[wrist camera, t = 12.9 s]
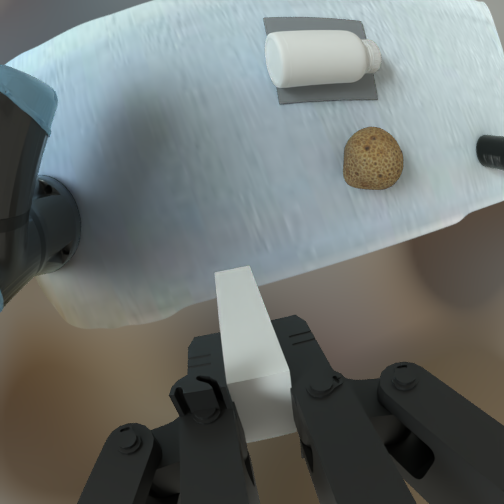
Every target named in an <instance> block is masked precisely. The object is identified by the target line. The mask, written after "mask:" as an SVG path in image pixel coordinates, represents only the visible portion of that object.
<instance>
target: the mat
mask: <svg viewBox="0 0 504 504" xmlns="http://www.w3.org/2000/svg"><path fill="white" fill-rule="evenodd" d="M263 20H264V25H265V30H266V35H268V34H270V33H273V32H281V31H300V30H344V31H349V32H352V33H354V34H356V35H357V36H358V37H359V38H360V39H366V38H365V34H364V30H363V26H362V22H361V21H356V20H346V19H334V18H315V17H271V18H263ZM277 93H278V99H279V104H286V103H298V102H311V101H330V100H378V98H377V92H376V86H375V80H374V75H373V73H365V74H364V75H363V77H362V78H361V79H360V80H358V81H356V82H352V83H334V84H319V85H308V86H297V87H288V88H278V87H277Z"/></svg>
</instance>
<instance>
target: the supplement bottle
mask: <svg viewBox="0 0 504 504" xmlns="http://www.w3.org/2000/svg"><path fill="white" fill-rule="evenodd" d="M476 152H477V157H478V160H479V162H480V163H481V164H482V165H483V166H485V167H490V168H495V169H500V170H504V137H503V136H492V135H482V136H481V137H480V138H479V139H478V142H477V146H476Z"/></svg>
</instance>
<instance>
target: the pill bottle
mask: <svg viewBox="0 0 504 504" xmlns="http://www.w3.org/2000/svg"><path fill="white" fill-rule="evenodd" d="M265 59H266V65H267V69H268V72H269V75H270V78H271V80H272V82H273V84H274V85H275V86H276V87H278V88H288V87H297V86H308V85H319V84H334V83H352V82H356V81H358V80H360V79H361V78H362V77H363V75H364V74H365V73H376V72H377V71H378V70H379V68H380V66H381V53H380V50H379V47H378V46H377V44H376V43H375V42H373V41H372V40H366V39H360V38H359V37H358V36H357V35H356V34H354V33H352V32H349V31H344V30H300V31H281V32H273V33H270V34H268V35H267V37H266V41H265Z"/></svg>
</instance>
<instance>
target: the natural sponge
mask: <svg viewBox="0 0 504 504" xmlns="http://www.w3.org/2000/svg"><path fill="white" fill-rule="evenodd" d="M402 170H403V154H402V151H401V149H400V147H399V145H398V143H397V141H396V140H395V139H394V138H393V136H392V135H390V134H389V133H388V132H386V131H385V130H383V129H381V128H377V127H367V128H363V129H361V130H359V131H358V132H356V133H355V134H354V135H353V136H352V137H351V138H350V139H349V140H348V142H347V143H346V146H345V150H344V164H343V176H344V179H345V181H346V183H347V184H348V185H350V186H352V187H355V188H360V189H372V190H382V189H386V188H389V187H391V186H392V185H394V184H395V182H396V181H397V180H398V179H399V177H400V175H401V173H402Z"/></svg>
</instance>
